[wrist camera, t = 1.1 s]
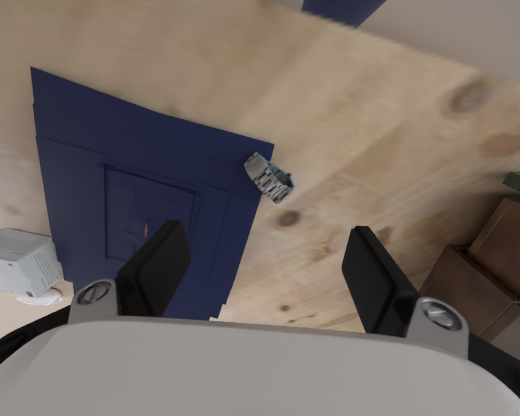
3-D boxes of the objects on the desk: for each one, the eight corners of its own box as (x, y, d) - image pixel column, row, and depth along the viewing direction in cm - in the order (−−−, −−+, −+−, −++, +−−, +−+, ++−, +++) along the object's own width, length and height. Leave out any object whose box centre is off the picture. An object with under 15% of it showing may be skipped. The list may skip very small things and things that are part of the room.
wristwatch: (254, 175, 22) (280, 207, 20) (233, 158, 17) (265, 198, 16) (274, 157, 22) (303, 188, 20) (258, 134, 17) (294, 172, 15)
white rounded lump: (22, 281, 35) (3, 294, 33) (63, 286, 35) (47, 300, 33) (31, 292, 37) (13, 306, 34) (70, 297, 36) (55, 311, 34)
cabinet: (446, 244, 24) (524, 310, 16) (550, 249, 23) (684, 321, 15) (406, 311, 30) (448, 380, 23) (486, 317, 29) (557, 390, 22)
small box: (4, 226, 29) (-46, 249, 24) (56, 237, 29) (16, 262, 24) (25, 263, 33) (-15, 288, 28) (71, 272, 33) (39, 299, 28)
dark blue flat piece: (78, 281, 32) (55, 299, 28) (57, 73, 20) (14, 62, 17) (221, 317, 33) (216, 338, 30) (276, 143, 22) (277, 145, 18)
